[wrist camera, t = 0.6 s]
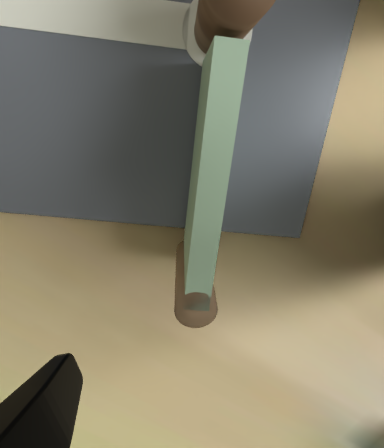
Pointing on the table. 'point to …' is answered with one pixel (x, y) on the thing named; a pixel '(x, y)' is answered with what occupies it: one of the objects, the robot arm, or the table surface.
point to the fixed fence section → (227, 19)
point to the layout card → (160, 110)
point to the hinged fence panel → (209, 179)
